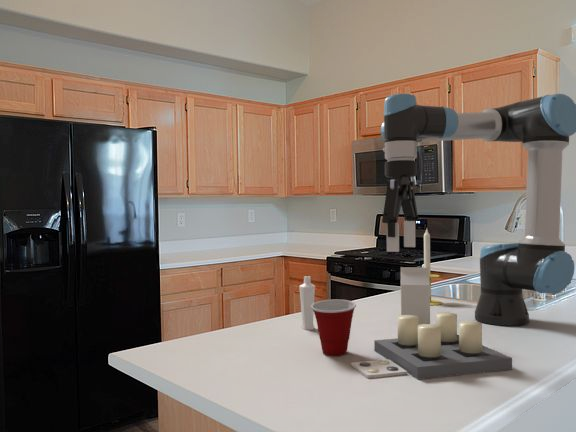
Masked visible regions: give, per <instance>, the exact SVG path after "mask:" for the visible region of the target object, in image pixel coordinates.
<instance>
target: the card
mask: <svg viewBox="0 0 576 432" xmlns="http://www.w3.org/2000/svg"><path fill="white" fill-rule="evenodd" d="M351 366H352V367H353V368H354V369H355V370H356V371H357V372H359V373H360V374H361V376H364V377H365V378H366V379H373V378H384V377H393V376H404V375H408V373H407V371H406V370H404V369H403V368H401V367H400V366H398V365H397V364H395V363H394V362H392V361H391V360H389V359H379V360H369V361H357V362H351Z"/></svg>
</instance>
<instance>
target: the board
mask: <svg viewBox="0 0 576 432" xmlns="http://www.w3.org/2000/svg"><path fill="white" fill-rule="evenodd" d="M373 346H374V352H376V353H377V354H379V355H380V356H382V357H383V358H384V359H385V360H387V359H389V360H391V361H392V362H394V363H395V364H397V365H398V366H400V367H401V368H403V369H404V370H406V371H407V374H409V375H410V376H411V377H413V378H414V379H416V380H425V379H427V380H428V379H435V378H445V377H454V376H455V377H456V376H463V375H473V374H482V373H483V372H485V373H492V372H501V371H502V372H503V371H511V370H513V357H511V356H508V355H507V354H504V353H502V352H499V351H498V350H495V349H492V348H489V347H488V346H485V345H483V344H482V352H481V353H465V352H461V351H460V350H459V334H457V341H454V342H443V341H441V356H439V357H423V356H420V355H419V354H418V344H417V345H402V344H399V343H398V337H397V338H388V339H387V338H385V339H375V340H374V345H373Z"/></svg>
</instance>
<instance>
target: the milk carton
mask: <svg viewBox="0 0 576 432" xmlns="http://www.w3.org/2000/svg"><path fill="white" fill-rule="evenodd" d="M400 315H414V316H417V317H418V318H419V325H421V324H431V306H430V282H429V268H424V267H417V266H416V267H413V266H412V267H409V266H408V267H403V266H400Z"/></svg>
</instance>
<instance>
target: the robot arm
mask: <svg viewBox="0 0 576 432" xmlns="http://www.w3.org/2000/svg"><path fill="white" fill-rule="evenodd" d="M417 103H418V102H417V97H416V96H415V95H414V94H411V93H396V94H391V95H388V96H387V97H386V98H385V99H384V105H383V122H382V124H381V126H380V135H381V136H380V137H381V138H382V140H383V141H384V147H383V148H382V152H384V159H385V160H387V161H385V162H384V176H385V178H391V179H386V193H385V199H384V207H383V213H382V218H381V221H382V223H383V224H386V229H385V230H386V232H385V233H386V252H388V253H389V252H393V253H399V252H400V224H399V222H398V220H399V215H400V211H401V209H402V212H403V218H404V220H403V247H404V248H416V222H418V221H419V219H420V217H419V216H418V210H417V209H418V208H417V202H416V195H415V187H414V186H415V182H414V181H410V178H413V177H416V176H417V174H418V167H417V166H418V162H417V161H416V159H417V158H418V151H417V150H418V148H417V145H418V144H417V143H425V142H444V141H459V140H460V141H462V140H477V139H479V140H480V139H482V140H483V141H484V142H487V143H489V142H501V143H502V142H503V143H504V142H505V143H506V142H507V143H522V144H521V145H522V147H523V148H524V149H526V150H527V169H526V170H527V171H526V173H527V174H526V191H525V192H526V195H525V197H526V198H525V215H524V216H525V217H524V219H525V220H524V222H525V223H524V235H523V236H524V237H523V238H521V239H520V240H519V241H518V242H513V243H498V244H496V243H495V244H487V245H484V246H482V247H481V249H480V257H479V273H480V274H479V276H480V277H479V278H480V280H479V281H480V295H479V298H478V301H477V304H476V307H475V309H474V319H475V320H476V322H480V323H482V324H488V325H493V326H494V325H495V326H514V327H515V326H523V325H528V324H529V323H530V314H529V311H528V308H527V305H526V302H525V299H524V297H523V295H524V294H523V290H525V291H531V292H535V293H536V292H537V293H538V294H552V295H553V294H554V295H555V294H559V293H561V292H563V291H565V289H566V288H567V287H568V286H569V285H571V282H572V281H573V278H574V274H575V261H574V260H573V257H572V255H571V254H570V253H568V252H567V251H566V244H565V242H563V241H562V240H561V238H560V222H561V220H560V219H561V201H562V200H561V197H562V196H561V194H562V172H563V171H562V169H563V151H564V150H565V149H566V148H567V147H568V146H569V145H570V137H571V136H572V135H574V134H575V133H576V102H574V100H573V99H572V98H571V97H570V96H568V95H566V94H564V93H554V94H553V93H552V94H545V95H543V96H539V97H534V98H532V99H526V100H523V101H521V100H520V101H517V102H515V103H514V102H513V103H511V104H507V105H504V106H499V107H495V108H490V107H489V108H485V109H484V110H482V111H481V112H458V113H457V112H456V110H455V109H453V108H451V107H447V106H443V105H442V106H433V105H432V106H431V105H419V104H417ZM475 320H474V321H475Z"/></svg>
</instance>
